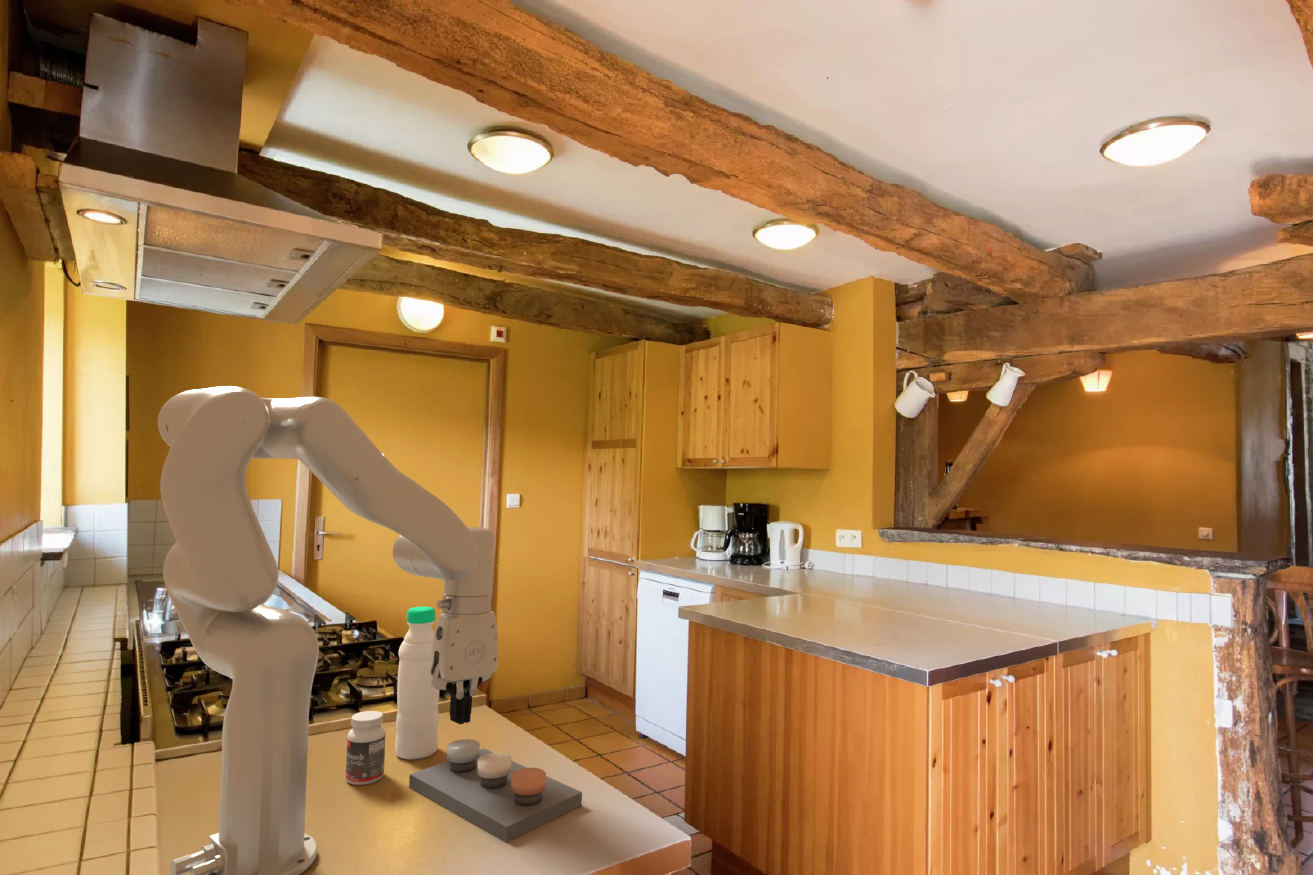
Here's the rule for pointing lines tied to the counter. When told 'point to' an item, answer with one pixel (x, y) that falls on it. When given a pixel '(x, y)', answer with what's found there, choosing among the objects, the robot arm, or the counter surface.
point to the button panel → (493, 798)
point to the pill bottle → (365, 748)
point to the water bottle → (417, 689)
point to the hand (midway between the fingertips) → (460, 721)
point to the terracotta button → (528, 781)
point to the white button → (494, 765)
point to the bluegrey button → (463, 751)
